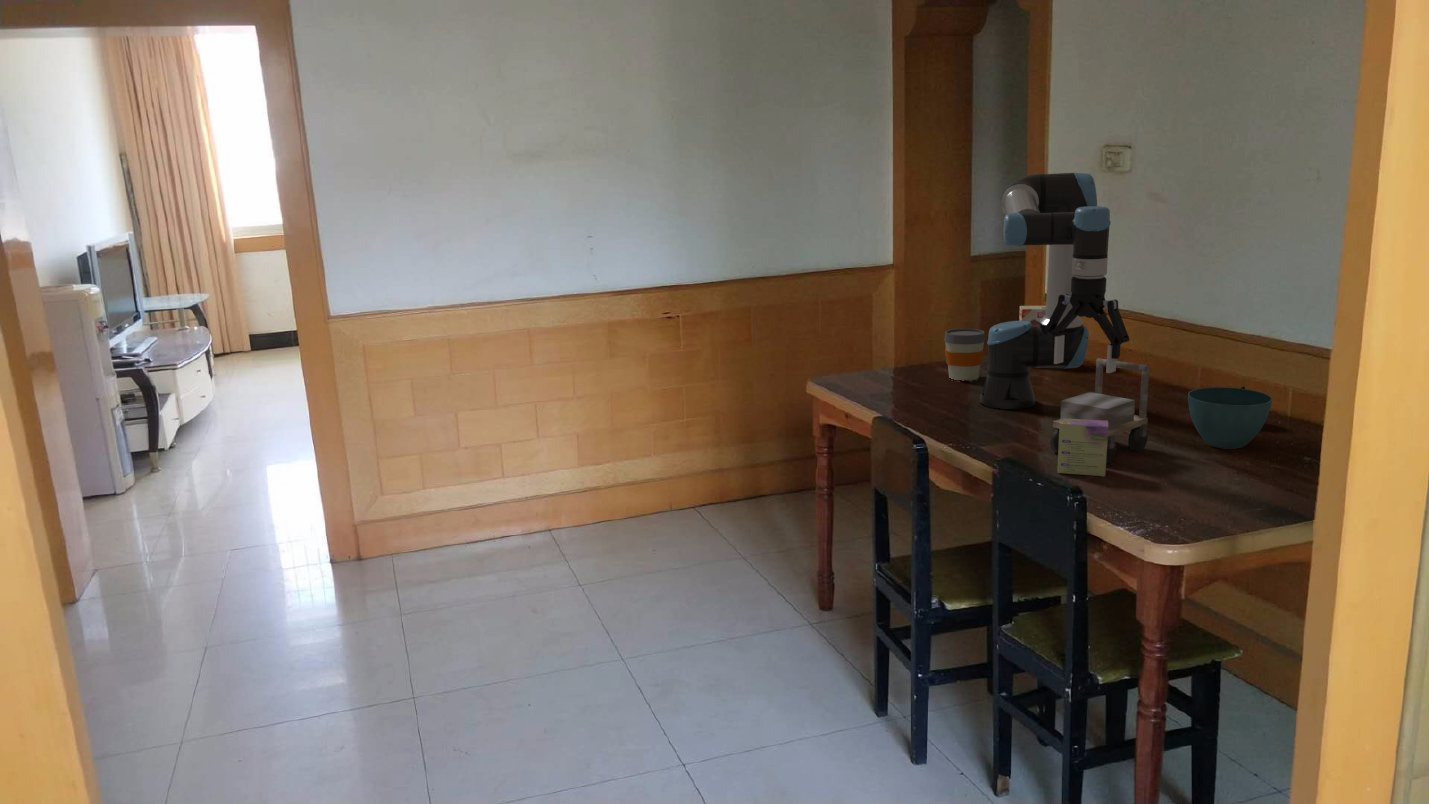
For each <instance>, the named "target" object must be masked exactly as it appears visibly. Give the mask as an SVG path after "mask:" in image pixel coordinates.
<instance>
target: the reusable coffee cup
mask: <svg viewBox="0 0 1429 804" xmlns="http://www.w3.org/2000/svg"><path fill="white" fill-rule="evenodd" d="M985 336H986V335H985V331H984V330H981V329H976V328H953V329H949V330H946V331H945V332H944V339H943V341H944V342H945V343H944V344H945V349H944V353H945V354H944V355H945V363H946V364H947V367H948V379H949V378H951V379H954V380H962V381H964V380H973V379H976V378H978V379H979V377H980V368H981V365H982V364H983V358H984V352H985V351H984V350H985V349H984V343H985V342H986V337H985Z"/></svg>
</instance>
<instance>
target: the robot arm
mask: <svg viewBox="0 0 1429 804" xmlns="http://www.w3.org/2000/svg"><path fill="white" fill-rule="evenodd" d="M1097 195H1098V194H1097V189H1096V182H1095V179H1094V177H1093V176H1092V175H1091V174H1090V173H1084V172H1083V173H1082V172H1062V173H1061V172H1060V173H1059V172H1057V173H1034V174H1028V175H1025V176H1022V177H1020V178H1018V179H1016V180H1014V181H1012V182H1011V183H1009V184H1008V186H1006V187H1005V189H1004V190H1003V192H1002V194H1001V196H1000V208H1001V210H1002V213H1003V215H1005V216H1004V217H1003V234H1002V235H1003V243H1004V244H1005V245H1006V246H1016V247H1022V246H1049V247H1048V248H1049V249H1048V268H1047V283H1046V284H1047V286H1046V287H1047V289H1046V300H1045V302H1046V304H1045V306H1046V315H1045V316H1044V317H1042V318H1041V319H1040V325H1039V327H1032V324H1031V322H1029V321H1019V320H1011V321H1005V322H1000V323H997V324H995V325H993V326H991V327H990V328H989V331H988V337H987V338H988V339H987V342H986V343H987V367H986V368H987V372H986V373H987V374H986V378H985V381H984V384H983V387H982V390H981V392H980V395H979V397H980V400H979V402H981V403H982V404H984V405H986V406H985V407H987V406H989V407H988V408H993V409H998V408H1000V409H1001V410H1019V409H1027V408H1028V409H1029V408H1031V407H1033V406H1035V404H1036V403H1035V402H1036V396H1035V393H1034V389H1033V386H1032V383H1031V379H1030V369H1065V370H1066V369H1075V368H1079V367H1080V366H1082V365H1083V363H1084V361H1085V358H1086V355H1087V351H1088V346H1089V336H1090V335H1089V333H1090V332H1089V328H1088V327H1087V326H1085V325H1084V320H1083V319H1082V317H1083V318H1085V317H1086V318H1087V319H1089V318H1090V319H1093V320H1094V321H1096V322H1097V324H1098V325H1099V327H1100V328H1101V330H1102V332H1103V333H1104V334H1105V336H1106V338H1107V340H1108V341H1109V342H1110V343H1108V344H1107V349H1106V350H1107V352H1106V359H1107V365H1106V366H1105V367H1106V369H1105V373H1106V374H1111V373H1114V372H1116V371H1117V367H1116V361H1117V360H1118V359H1119V358H1120V356H1121V345H1122V344H1124V343H1128V342H1129V341H1130V337H1129V334H1128V330H1127V329H1126V325H1125V323H1124V321H1123V318H1122V314H1121V313H1120V310H1119V301H1118V299H1112V300H1106V298H1105V297H1106V291H1107V278H1106V275H1108V274H1107V273H1108V258H1109V257H1108V256H1109V253H1108V252H1109V237H1110V226H1111V211H1110V209H1109V207H1107V206H1099V205H1098V197H1097ZM1104 308H1105V309H1106V310H1107V313H1106V311H1105V310H1104ZM1107 314H1108V315H1107ZM1108 317H1109V318H1110V319H1109V318H1108ZM981 403H980V404H981ZM982 404H981V405H982ZM984 405H983V406H984Z"/></svg>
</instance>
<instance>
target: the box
mask: <svg viewBox="0 0 1429 804" xmlns="http://www.w3.org/2000/svg"><path fill="white" fill-rule="evenodd" d="M1107 442H1108V421H1103V420H1085V419H1067V418H1061V421H1060V430H1059V449H1058V452H1057V474H1068V475H1082V476H1083V475H1084V476H1094V477H1095V476H1096V477H1103V478H1104V477H1106V472H1107V464H1106V458H1107Z"/></svg>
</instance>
